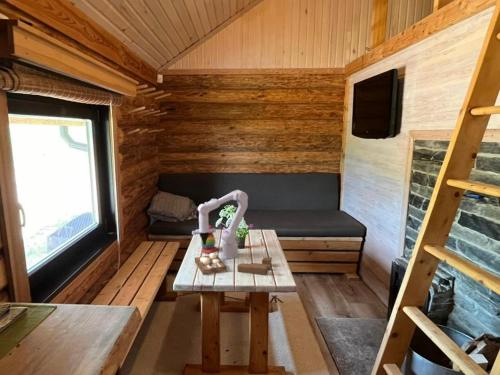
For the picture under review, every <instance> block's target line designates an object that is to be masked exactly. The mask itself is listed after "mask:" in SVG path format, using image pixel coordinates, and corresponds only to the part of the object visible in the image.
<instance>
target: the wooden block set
mask: <svg viewBox="0 0 500 375" xmlns="http://www.w3.org/2000/svg"><path fill="white" fill-rule="evenodd" d="M272 259H273V258H272V256H270V257H267V256H266V257H263V259H261V263H259V262H258V263H257V262H250V263H245V262H244V263H238V264H237V272H238V273H245V274H251V275H260V276H267V274H268V271H271V269H272V262H273V261H272Z"/></svg>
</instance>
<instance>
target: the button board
mask: <svg viewBox="0 0 500 375" xmlns="http://www.w3.org/2000/svg"><path fill="white" fill-rule="evenodd" d="M201 257H206V258H210V255H204V256H198V257H194V263H195V265H196V266H197V268H198V269H199V271H200V272H201V274H202V275H203V276H206V275H211V274H217V273H222V272H227V271H228V266H227V265H226V263H225V262H224V261H223V260H222V259H221V258H220V257H219V255H218V254H216V259H219V263H217V264H213V260H210V265H206V266H204V265H203V262H200V258H201Z"/></svg>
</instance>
